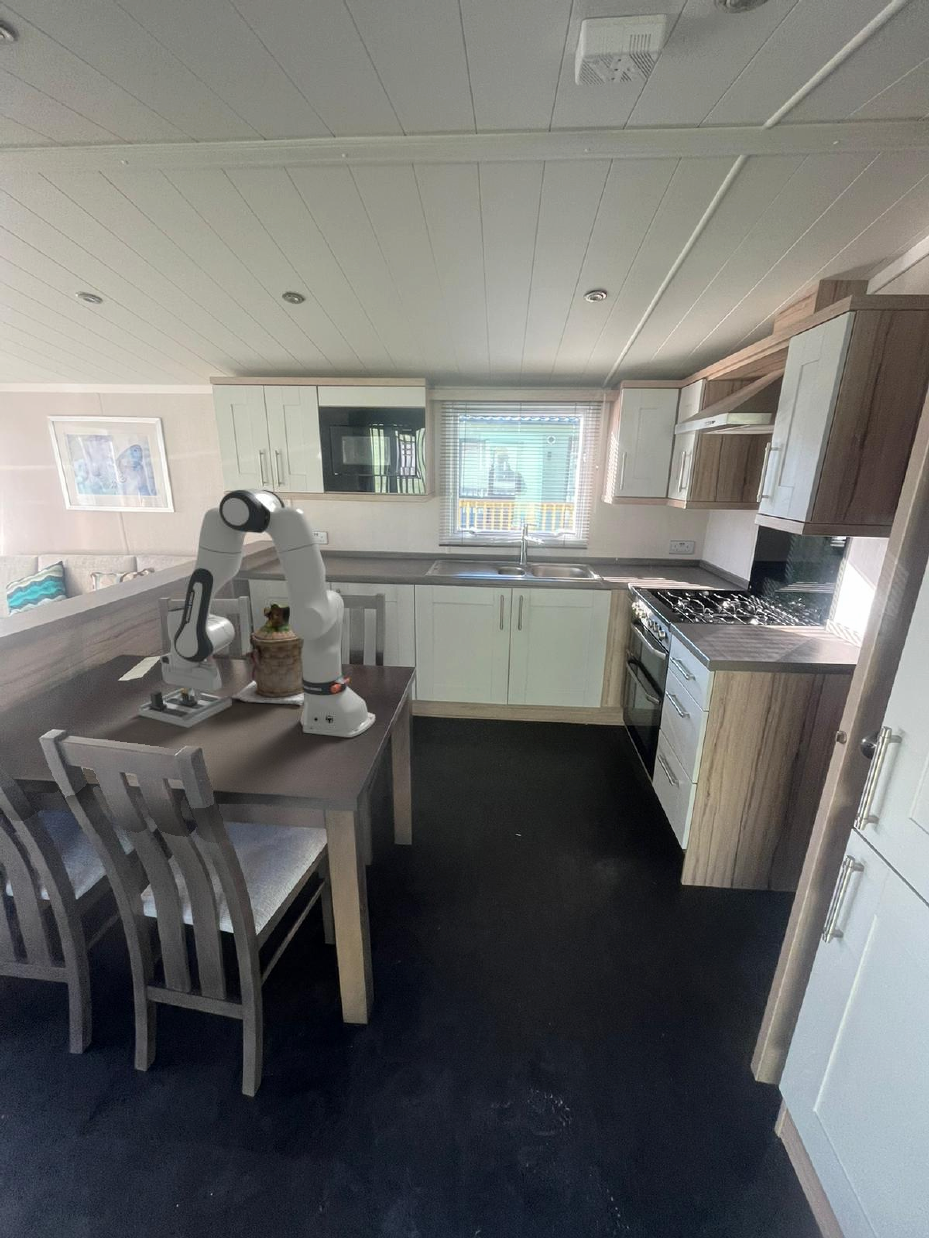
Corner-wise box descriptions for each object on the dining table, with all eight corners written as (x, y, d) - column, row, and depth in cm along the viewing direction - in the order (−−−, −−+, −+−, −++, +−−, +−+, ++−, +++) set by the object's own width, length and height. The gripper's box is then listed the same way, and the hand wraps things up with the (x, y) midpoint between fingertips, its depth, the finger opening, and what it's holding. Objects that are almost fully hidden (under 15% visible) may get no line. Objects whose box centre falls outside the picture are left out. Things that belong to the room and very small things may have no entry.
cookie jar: (330, 678, 175) (325, 594, 167) (302, 707, 152) (295, 611, 143) (267, 674, 177) (259, 591, 169) (229, 702, 154) (218, 608, 145)
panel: (231, 705, 152) (230, 696, 151) (188, 727, 137) (186, 717, 137) (186, 694, 159) (184, 686, 158) (139, 715, 144) (138, 705, 143)
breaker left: (167, 707, 144) (164, 692, 143) (160, 710, 142) (158, 695, 141) (155, 704, 146) (153, 689, 145) (148, 707, 144) (146, 692, 143)
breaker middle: (197, 703, 147) (195, 689, 146) (191, 706, 145) (189, 691, 144) (185, 700, 149) (183, 686, 147) (179, 703, 147) (177, 689, 145)
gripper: (224, 659, 141) (229, 701, 145) (174, 650, 148) (180, 690, 151) (206, 666, 135) (212, 710, 139) (155, 656, 142) (162, 698, 146)
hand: (195, 700), depth 145 cm, fingers closed
